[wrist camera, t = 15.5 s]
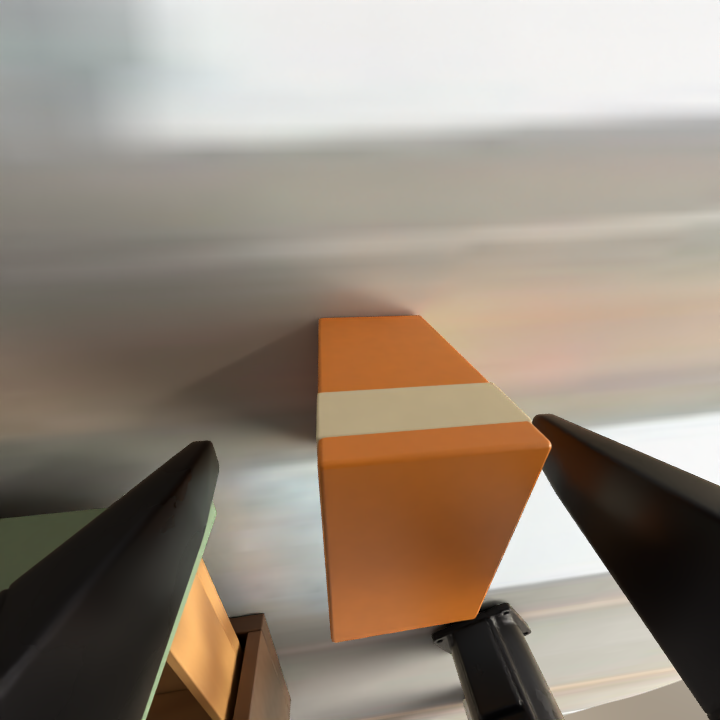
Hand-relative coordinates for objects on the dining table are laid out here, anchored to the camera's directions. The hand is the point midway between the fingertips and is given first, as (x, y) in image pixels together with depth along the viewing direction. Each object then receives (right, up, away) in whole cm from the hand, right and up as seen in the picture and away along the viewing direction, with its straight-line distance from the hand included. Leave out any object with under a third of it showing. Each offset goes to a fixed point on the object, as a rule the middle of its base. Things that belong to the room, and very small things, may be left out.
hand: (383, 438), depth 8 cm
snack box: (0, +1, +3) cm, 3 cm away
